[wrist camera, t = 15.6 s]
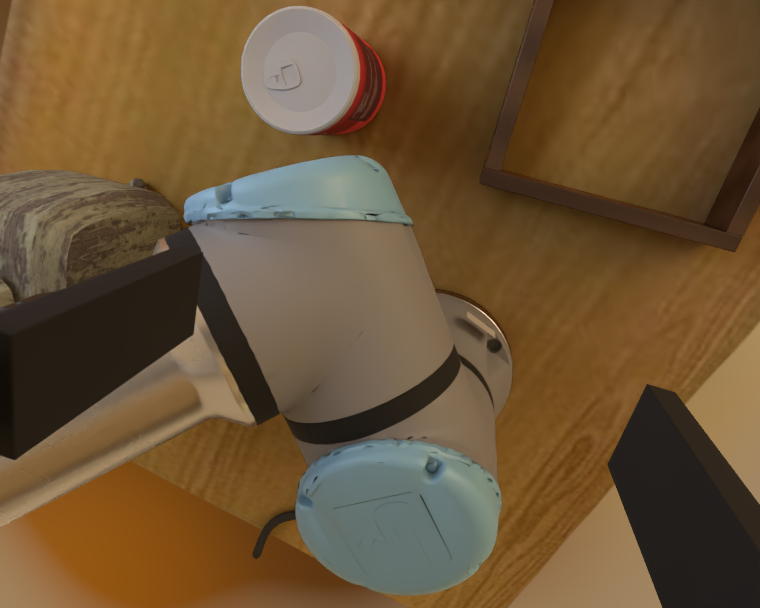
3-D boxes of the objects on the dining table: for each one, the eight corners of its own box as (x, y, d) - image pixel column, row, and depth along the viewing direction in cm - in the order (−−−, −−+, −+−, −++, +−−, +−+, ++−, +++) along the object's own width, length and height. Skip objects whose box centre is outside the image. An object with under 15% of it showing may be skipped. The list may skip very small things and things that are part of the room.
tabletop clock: (128, 162, 49) (-224, 189, 26) (213, 182, 47) (-82, 232, 24) (128, 301, 54) (-165, 427, 31) (204, 324, 52) (-45, 475, 29)
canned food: (279, 72, 43) (217, 53, 33) (357, 14, 41) (315, -26, 31) (327, 152, 45) (281, 158, 35) (404, 101, 42) (380, 91, 32)
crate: (712, 241, 41) (735, 252, 38) (479, 179, 43) (479, 183, 39) (845, -31, 34) (889, -51, 31) (562, -92, 36) (571, -117, 33)
